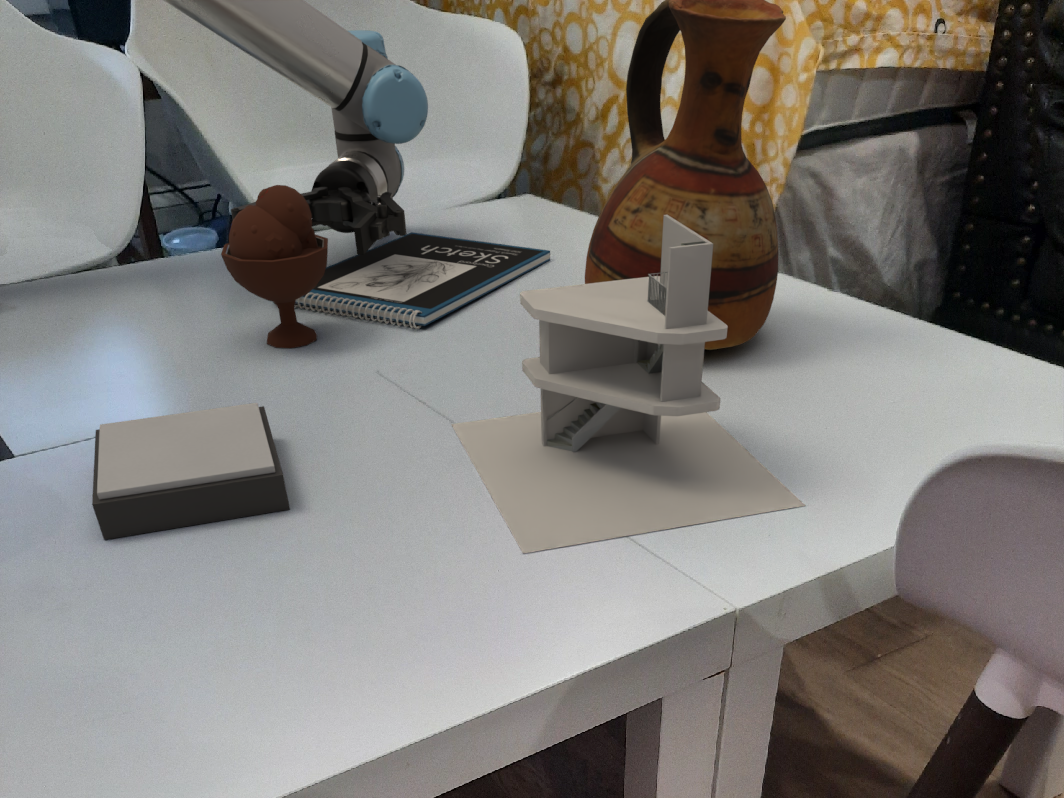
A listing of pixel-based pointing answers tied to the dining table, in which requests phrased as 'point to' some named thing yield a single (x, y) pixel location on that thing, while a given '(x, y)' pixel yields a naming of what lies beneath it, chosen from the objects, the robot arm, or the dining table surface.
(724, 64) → the ceramic pitcher
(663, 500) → the architectural model
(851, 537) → the dining table surface
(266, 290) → the ice cream bowl
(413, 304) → the sketchbook
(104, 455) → the scale
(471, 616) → the dining table surface
